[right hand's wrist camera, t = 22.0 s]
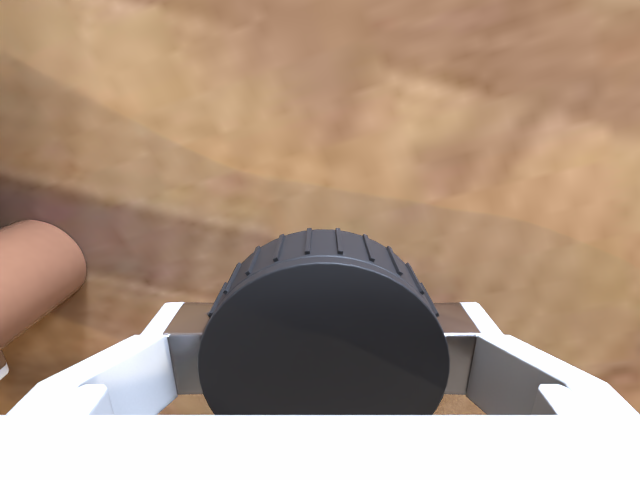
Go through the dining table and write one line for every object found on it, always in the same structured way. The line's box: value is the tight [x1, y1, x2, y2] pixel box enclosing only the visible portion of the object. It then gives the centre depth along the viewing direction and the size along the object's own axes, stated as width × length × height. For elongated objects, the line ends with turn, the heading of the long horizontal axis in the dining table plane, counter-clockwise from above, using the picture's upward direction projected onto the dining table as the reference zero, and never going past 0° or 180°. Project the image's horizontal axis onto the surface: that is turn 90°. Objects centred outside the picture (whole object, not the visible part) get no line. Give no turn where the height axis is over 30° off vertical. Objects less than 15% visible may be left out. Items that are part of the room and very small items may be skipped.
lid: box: [198, 228, 450, 415], centre depth 9 cm, size 6×6×2 cm
